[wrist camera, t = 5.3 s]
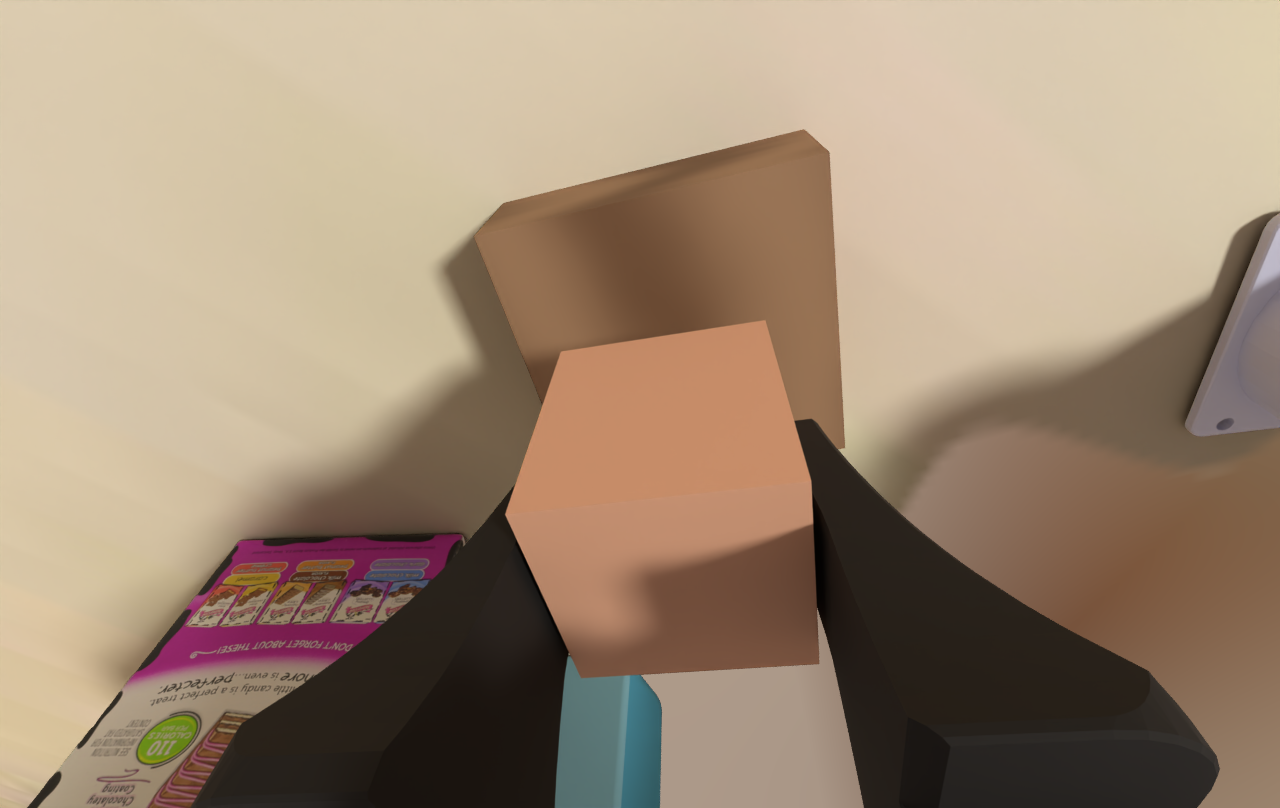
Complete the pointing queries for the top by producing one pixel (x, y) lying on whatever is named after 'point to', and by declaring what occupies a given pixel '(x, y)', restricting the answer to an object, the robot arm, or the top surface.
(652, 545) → the terracotta block
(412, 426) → the top surface
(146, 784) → the candy bar box
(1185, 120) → the top surface
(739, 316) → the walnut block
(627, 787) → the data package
